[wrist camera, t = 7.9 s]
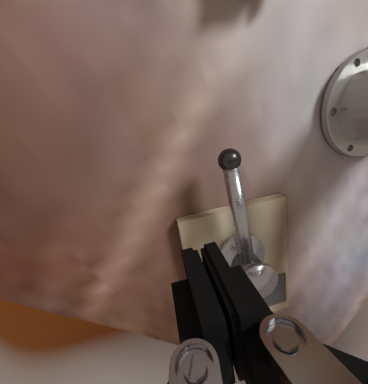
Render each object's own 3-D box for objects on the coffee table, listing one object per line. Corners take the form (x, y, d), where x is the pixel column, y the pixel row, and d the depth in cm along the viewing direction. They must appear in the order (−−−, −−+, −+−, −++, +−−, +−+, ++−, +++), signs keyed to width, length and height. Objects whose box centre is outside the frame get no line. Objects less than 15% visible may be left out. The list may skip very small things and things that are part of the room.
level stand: (279, 192, 27) (288, 197, 25) (282, 298, 32) (290, 308, 30) (175, 218, 25) (178, 224, 23) (197, 326, 30) (201, 338, 28)
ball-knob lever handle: (270, 301, 29) (290, 328, 25) (231, 316, 28) (246, 347, 24) (245, 139, 22) (268, 141, 18) (192, 155, 21) (204, 160, 17)
